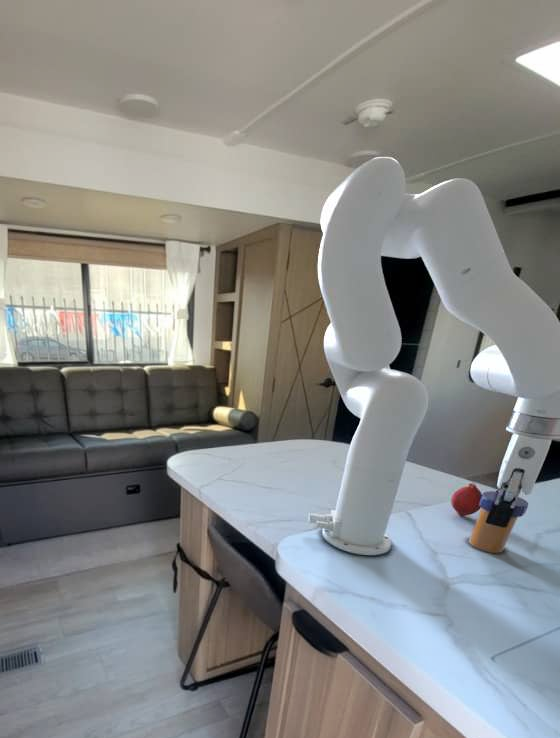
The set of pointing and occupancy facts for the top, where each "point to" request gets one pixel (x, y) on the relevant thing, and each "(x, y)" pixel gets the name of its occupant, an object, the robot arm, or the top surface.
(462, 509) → the red pomegranate
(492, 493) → the honey lid
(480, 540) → the honey jar
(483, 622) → the top surface
